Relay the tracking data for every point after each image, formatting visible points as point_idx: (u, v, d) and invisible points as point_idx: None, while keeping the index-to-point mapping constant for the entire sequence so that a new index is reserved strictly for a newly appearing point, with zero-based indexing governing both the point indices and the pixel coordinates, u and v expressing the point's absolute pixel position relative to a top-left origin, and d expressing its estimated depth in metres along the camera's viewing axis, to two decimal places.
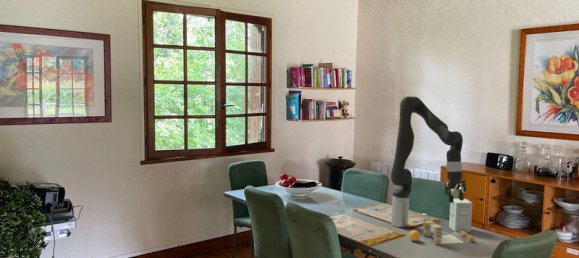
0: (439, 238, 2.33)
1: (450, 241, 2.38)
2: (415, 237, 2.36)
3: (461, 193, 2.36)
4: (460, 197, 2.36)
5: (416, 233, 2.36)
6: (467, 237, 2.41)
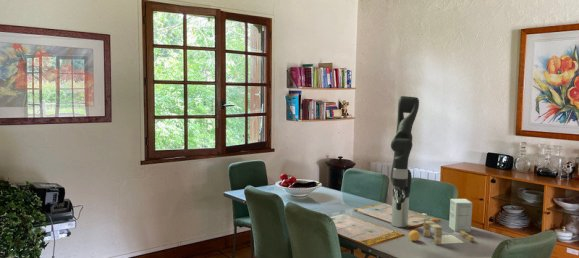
0: (439, 238, 2.33)
1: (450, 241, 2.38)
2: (415, 237, 2.36)
3: None
4: None
5: (416, 233, 2.36)
6: (467, 237, 2.41)
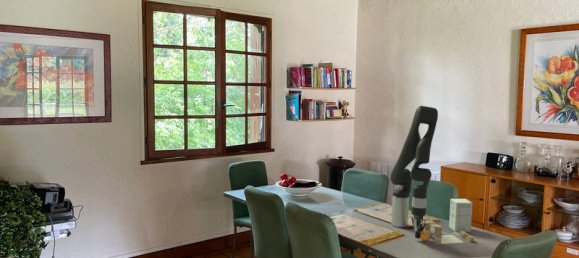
0: (439, 238, 2.33)
1: (450, 241, 2.38)
2: (426, 237, 2.36)
3: None
4: None
5: (429, 237, 2.37)
6: (467, 237, 2.41)
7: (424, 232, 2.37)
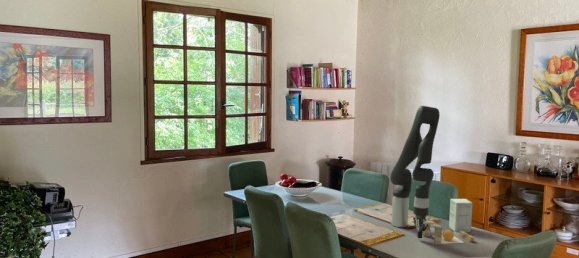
0: (439, 238, 2.33)
1: (450, 241, 2.38)
2: (450, 237, 2.38)
3: None
4: None
5: (451, 233, 2.38)
6: (467, 237, 2.41)
7: (445, 237, 2.39)
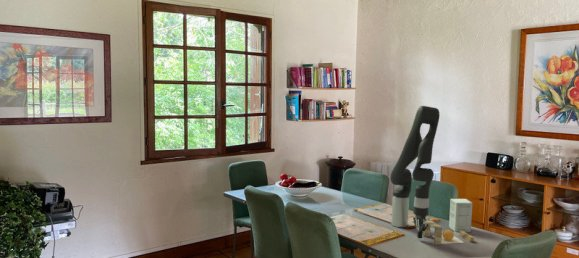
0: (439, 238, 2.33)
1: (450, 241, 2.38)
2: (450, 237, 2.38)
3: None
4: None
5: (451, 233, 2.38)
6: (467, 237, 2.41)
7: (445, 237, 2.39)
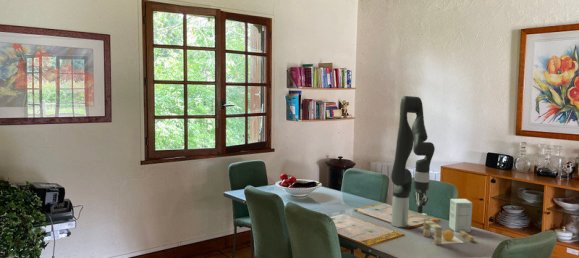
0: (439, 238, 2.33)
1: (450, 241, 2.38)
2: (450, 237, 2.38)
3: None
4: None
5: (451, 233, 2.38)
6: (467, 237, 2.41)
7: (445, 237, 2.39)
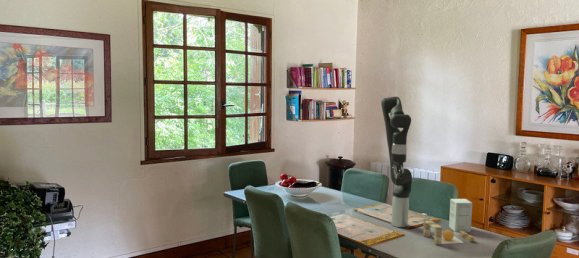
0: (439, 238, 2.33)
1: (450, 241, 2.38)
2: (450, 237, 2.38)
3: None
4: None
5: (451, 233, 2.38)
6: (467, 237, 2.41)
7: (445, 237, 2.39)
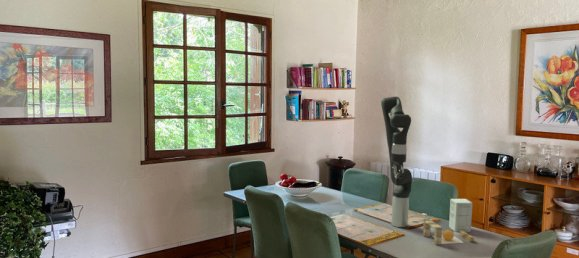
0: (439, 238, 2.33)
1: (450, 241, 2.38)
2: (450, 237, 2.38)
3: None
4: None
5: (451, 233, 2.38)
6: (467, 237, 2.41)
7: (445, 237, 2.39)
